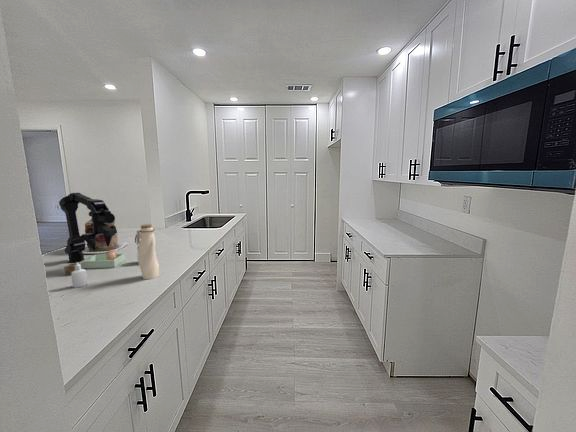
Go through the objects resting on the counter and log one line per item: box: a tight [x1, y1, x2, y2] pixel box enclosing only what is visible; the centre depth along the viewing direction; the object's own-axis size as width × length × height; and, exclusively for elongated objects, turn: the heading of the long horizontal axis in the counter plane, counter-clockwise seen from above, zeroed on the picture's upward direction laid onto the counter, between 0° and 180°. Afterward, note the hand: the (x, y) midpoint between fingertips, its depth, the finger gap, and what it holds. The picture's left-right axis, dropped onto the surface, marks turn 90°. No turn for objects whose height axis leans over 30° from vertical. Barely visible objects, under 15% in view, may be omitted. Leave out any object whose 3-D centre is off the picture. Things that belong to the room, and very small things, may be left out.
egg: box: [106, 251, 117, 260], centre depth 162 cm, size 5×5×7 cm
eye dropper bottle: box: [70, 262, 88, 289], centre depth 130 cm, size 4×6×12 cm
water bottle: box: [134, 223, 160, 280], centre depth 140 cm, size 10×9×28 cm
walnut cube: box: [64, 262, 82, 276], centre depth 147 cm, size 5×5×5 cm
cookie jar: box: [82, 210, 129, 255], centre depth 191 cm, size 25×25×32 cm
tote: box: [80, 253, 126, 270], centre depth 162 cm, size 18×14×4 cm
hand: (101, 248), depth 157 cm, fingers open, 9 cm apart
